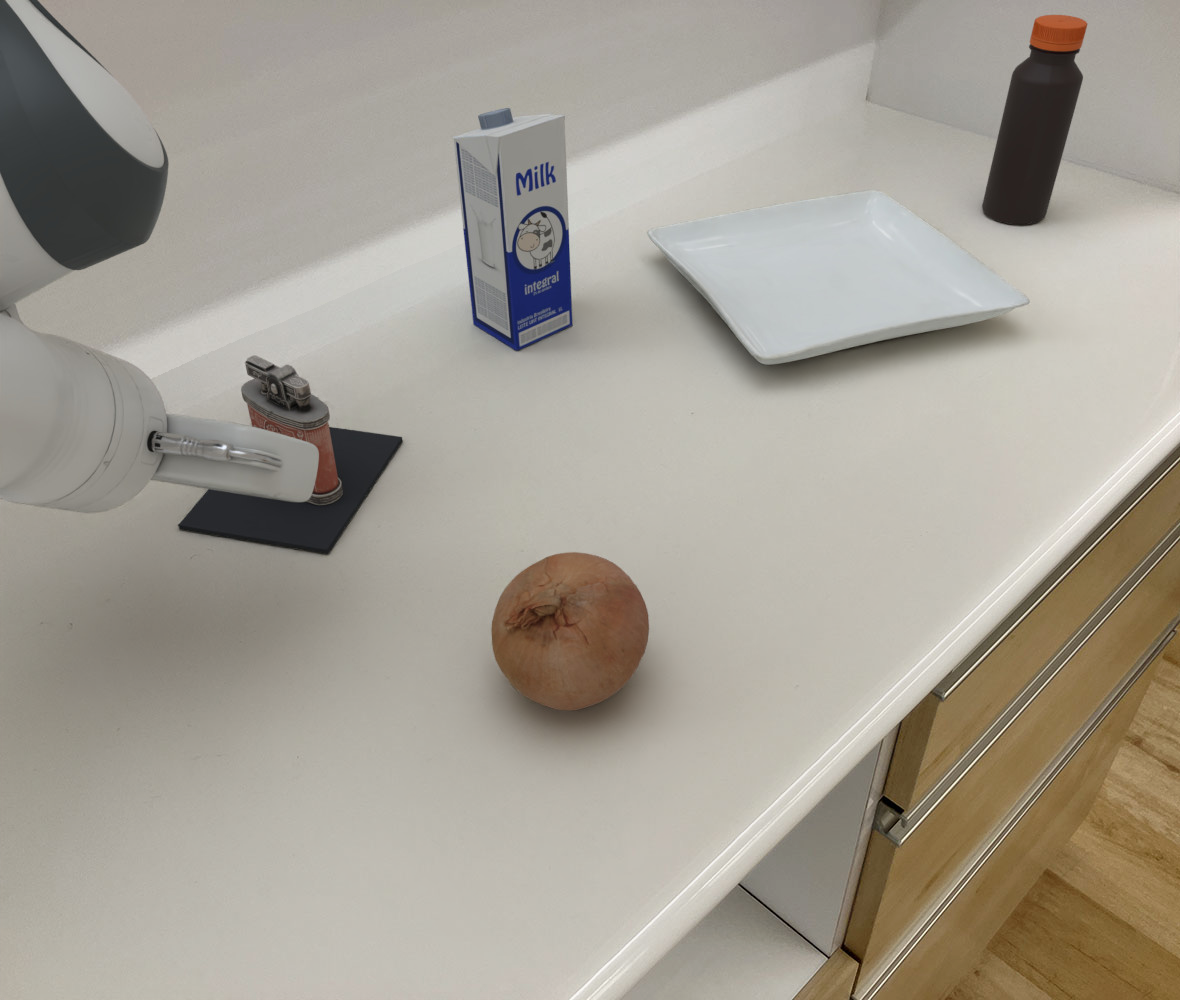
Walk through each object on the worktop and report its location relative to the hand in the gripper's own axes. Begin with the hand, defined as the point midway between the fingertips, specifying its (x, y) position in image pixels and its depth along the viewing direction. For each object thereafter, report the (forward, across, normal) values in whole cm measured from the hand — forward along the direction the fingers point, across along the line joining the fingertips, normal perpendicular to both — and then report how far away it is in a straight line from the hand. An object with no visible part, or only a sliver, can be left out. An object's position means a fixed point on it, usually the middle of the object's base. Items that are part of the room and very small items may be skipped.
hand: (215, 465), depth 70 cm
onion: (+2, -26, +10) cm, 28 cm away
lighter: (+11, -1, 0) cm, 11 cm away
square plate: (+39, -37, -28) cm, 61 cm away
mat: (+12, 0, 0) cm, 12 cm away
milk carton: (+31, -10, -19) cm, 38 cm away
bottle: (+56, -56, -44) cm, 90 cm away
